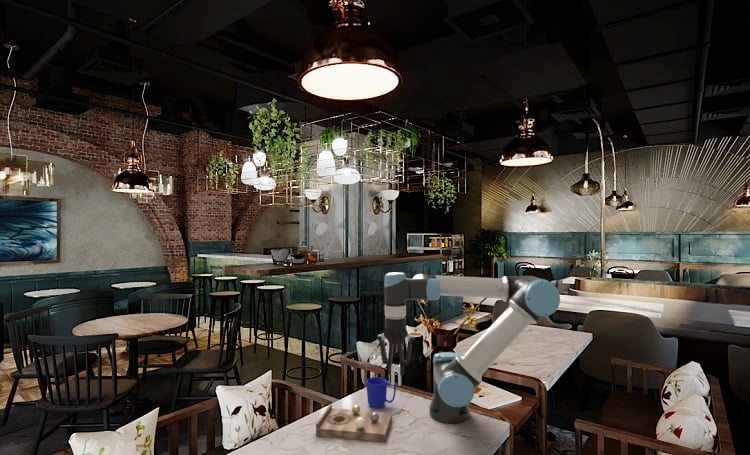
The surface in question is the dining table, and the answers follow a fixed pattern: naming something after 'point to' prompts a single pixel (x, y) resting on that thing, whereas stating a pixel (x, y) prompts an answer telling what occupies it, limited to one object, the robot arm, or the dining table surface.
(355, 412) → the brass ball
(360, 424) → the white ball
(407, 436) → the dining table surface
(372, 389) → the mug
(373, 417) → the steel ball
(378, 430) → the deck
